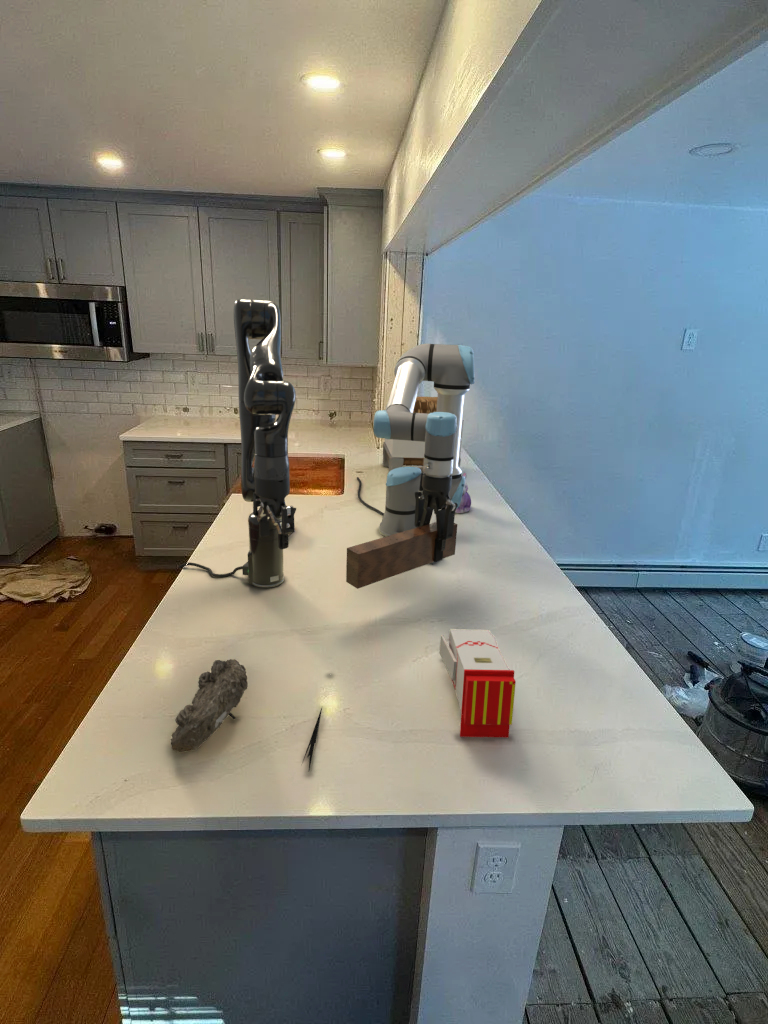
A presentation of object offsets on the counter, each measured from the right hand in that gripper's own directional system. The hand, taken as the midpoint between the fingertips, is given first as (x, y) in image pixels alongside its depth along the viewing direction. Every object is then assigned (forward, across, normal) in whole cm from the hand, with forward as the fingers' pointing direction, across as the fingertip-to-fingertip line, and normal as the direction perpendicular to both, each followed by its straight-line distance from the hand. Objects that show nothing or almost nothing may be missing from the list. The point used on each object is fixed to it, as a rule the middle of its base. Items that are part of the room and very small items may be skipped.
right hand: (431, 556), depth 153 cm
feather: (+12, +23, -52) cm, 58 cm away
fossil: (+12, +10, -67) cm, 69 cm away
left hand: (-12, -9, -42) cm, 45 cm away
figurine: (+12, -44, +62) cm, 77 cm away
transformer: (+12, -92, +85) cm, 126 cm away
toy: (+12, +35, -22) cm, 43 cm away
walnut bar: (0, 0, -10) cm, 10 cm away
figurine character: (+12, -62, -8) cm, 64 cm away
